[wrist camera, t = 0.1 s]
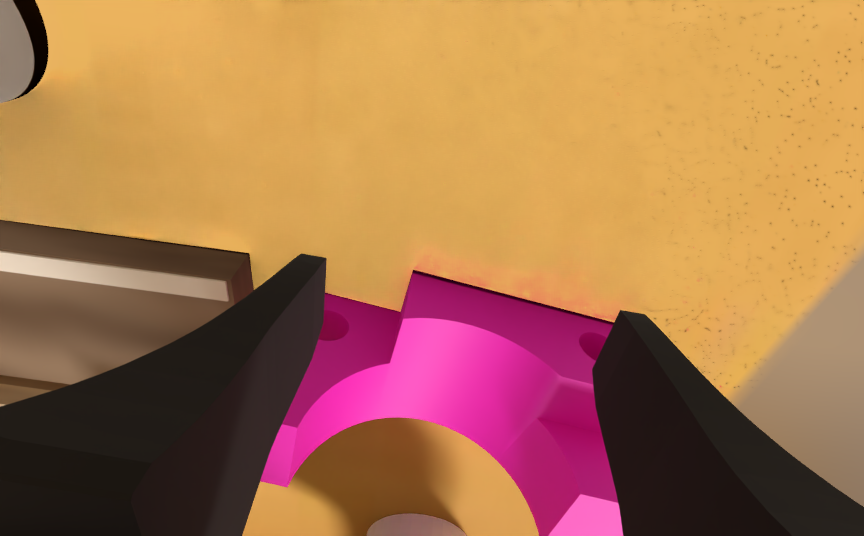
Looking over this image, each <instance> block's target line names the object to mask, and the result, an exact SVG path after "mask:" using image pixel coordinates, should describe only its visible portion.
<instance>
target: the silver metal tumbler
mask: <svg viewBox="0 0 864 536" xmlns="http://www.w3.org/2000/svg"><path fill="white" fill-rule="evenodd" d="M47 62H48V38H47V33H46V28H45V24H44V21H43V18H42V15H41V13H40V10H39V8H38V5H37V3H36V1H35V0H0V103H2V102H7V101H11V100H14V99H17V98H20V97H22V96H24V95H26V94H28V93H29V92H30V91H31V90H33V89H34V88H35V87H36V86H37V85H38V83H39V82H40V81H41V79H42V77H43V75H44V73H45V70H46V67H47Z"/></svg>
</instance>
